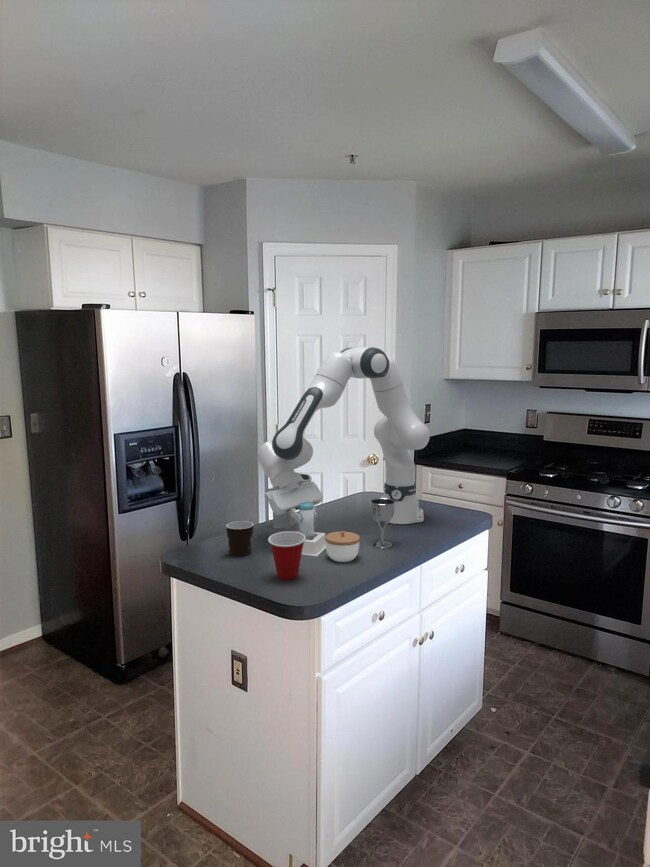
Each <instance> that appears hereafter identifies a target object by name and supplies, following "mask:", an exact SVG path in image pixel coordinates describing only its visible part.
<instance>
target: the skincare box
mask: <svg viewBox="0 0 650 867" xmlns="http://www.w3.org/2000/svg"><path fill="white" fill-rule="evenodd" d="M271 488H273V486H272V487H271ZM272 518H273V519H272V520H273V522H272V523H273V524H272V526H273V529H285V530H290V529H291V528H294V526H295V525H296V519H295V518H294V517H292V516H291V515H290V514H289V513H284V514H281V515H276V514H274V513H273V512H272Z"/></svg>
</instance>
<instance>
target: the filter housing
mask: <svg viewBox="0 0 650 867" xmlns="http://www.w3.org/2000/svg"><path fill="white" fill-rule="evenodd" d="M295 532H299V529H297V530H296V531H295ZM326 535H327V534H326V532H317V531H314V539H313V540H306V539H305V541H304V544H303V548H302V554H301V555H303V556H313V557H318V556H319V555H320V554H321V553H322V552H324V550H326V540H325V536H326Z"/></svg>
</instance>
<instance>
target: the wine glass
mask: <svg viewBox="0 0 650 867" xmlns="http://www.w3.org/2000/svg"><path fill="white" fill-rule="evenodd" d="M394 509H395V501H394V500H392V499H386V498H380V497H378V498H373V499H371V500H370V511H371V517H372V518H373V520H374V521H375V522H376V523H377V525H378V526H379V530H380V540H378V541H377V540H376V542H375V543H374V544H373V545H372V547H374V546H375V548H377V547H381V548H380V549H387V548H388V547H389V548H391V546H392V544H393V543H392V542H390V541H385V540H384V534H385V528H386V526H387V525H388V524H390V523H389V521H390V520H391V519H392V517H393V514H394ZM392 547H393V546H392Z"/></svg>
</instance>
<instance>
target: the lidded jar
mask: <svg viewBox="0 0 650 867" xmlns="http://www.w3.org/2000/svg"><path fill="white" fill-rule="evenodd" d="M325 540H326V548H325V550H326V554H327V556H328V557H329V559H330V560H332V561H334V562H338V563H348V562H352V561H354V559H355V558H357V556H358V553H359V550H360V541H361V536H360V535H359V534H357V533H354V532H351V531H350V532H349V531H343V530H341V531H333V532H330V533H328V534H326V536H325Z"/></svg>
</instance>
